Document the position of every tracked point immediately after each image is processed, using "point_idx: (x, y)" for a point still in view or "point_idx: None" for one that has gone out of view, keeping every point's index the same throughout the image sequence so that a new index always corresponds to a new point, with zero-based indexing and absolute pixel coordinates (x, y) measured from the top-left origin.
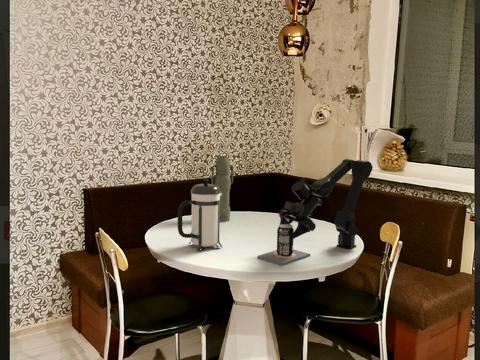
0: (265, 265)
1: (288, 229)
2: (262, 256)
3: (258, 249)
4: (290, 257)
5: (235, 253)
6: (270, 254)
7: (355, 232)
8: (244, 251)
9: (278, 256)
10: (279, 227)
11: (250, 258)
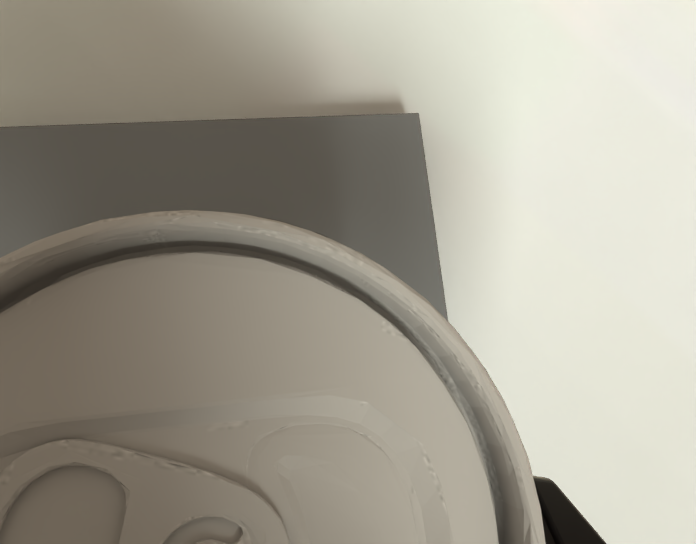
0: (149, 4)
1: None
2: (360, 136)
3: (678, 385)
4: None
5: (676, 66)
6: None
7: None
8: (690, 191)
9: None
10: (303, 250)
11: (449, 61)
